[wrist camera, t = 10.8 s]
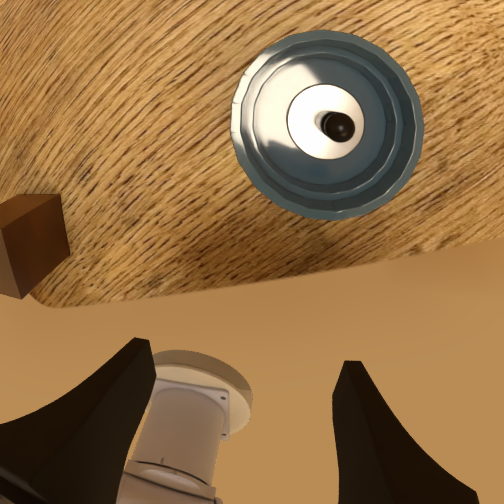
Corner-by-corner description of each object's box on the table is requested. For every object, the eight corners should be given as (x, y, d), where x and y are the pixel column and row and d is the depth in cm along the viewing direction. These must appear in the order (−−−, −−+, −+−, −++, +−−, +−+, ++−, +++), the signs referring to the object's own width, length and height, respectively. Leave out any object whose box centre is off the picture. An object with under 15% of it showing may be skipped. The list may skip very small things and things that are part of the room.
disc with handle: (354, 159, 17) (386, 187, 11) (283, 151, 17) (283, 175, 12) (361, 90, 15) (398, 86, 10) (288, 81, 15) (291, 69, 10)
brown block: (70, 254, 22) (21, 299, 16) (29, 249, 22) (-19, 288, 17) (59, 194, 20) (1, 228, 14) (17, 194, 20) (-38, 225, 14)
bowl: (384, 204, 18) (406, 229, 15) (238, 189, 19) (227, 211, 15) (402, 60, 14) (430, 52, 11) (245, 40, 15) (235, 23, 11)
